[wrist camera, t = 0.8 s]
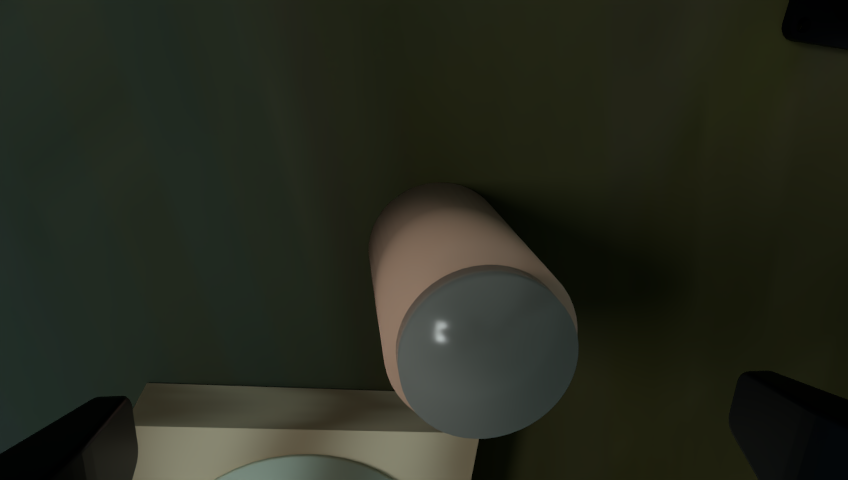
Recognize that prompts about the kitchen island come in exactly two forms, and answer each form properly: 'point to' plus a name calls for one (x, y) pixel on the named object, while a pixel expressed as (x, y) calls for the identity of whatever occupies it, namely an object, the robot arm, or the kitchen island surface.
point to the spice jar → (468, 314)
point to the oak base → (290, 436)
